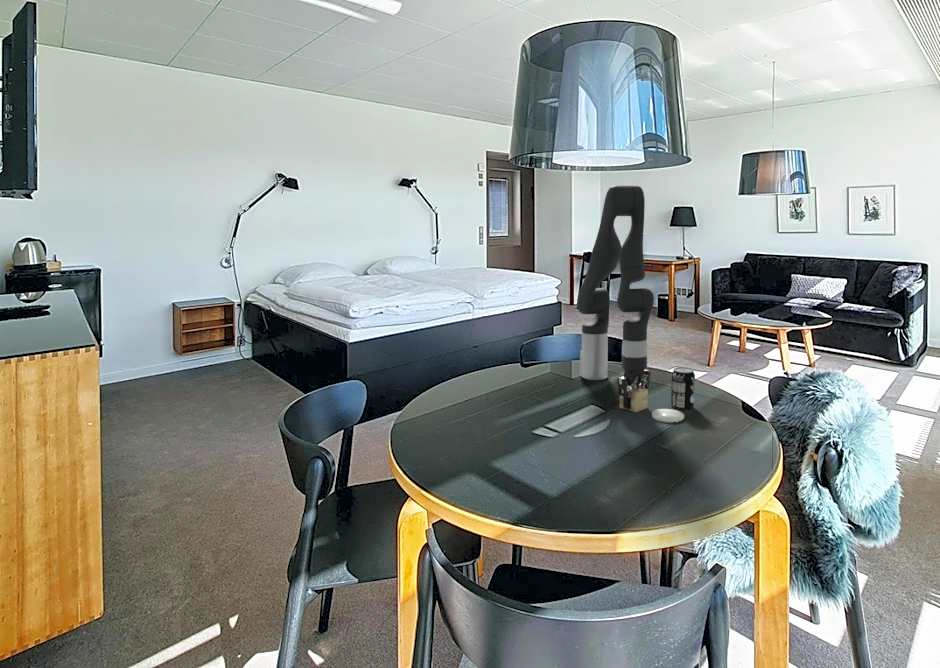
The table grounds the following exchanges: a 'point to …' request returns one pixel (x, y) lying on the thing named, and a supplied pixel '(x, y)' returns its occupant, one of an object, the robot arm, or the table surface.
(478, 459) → the table surface
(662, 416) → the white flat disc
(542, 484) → the table surface
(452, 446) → the table surface
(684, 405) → the beverage can
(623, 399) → the robot arm
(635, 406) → the oak cube
